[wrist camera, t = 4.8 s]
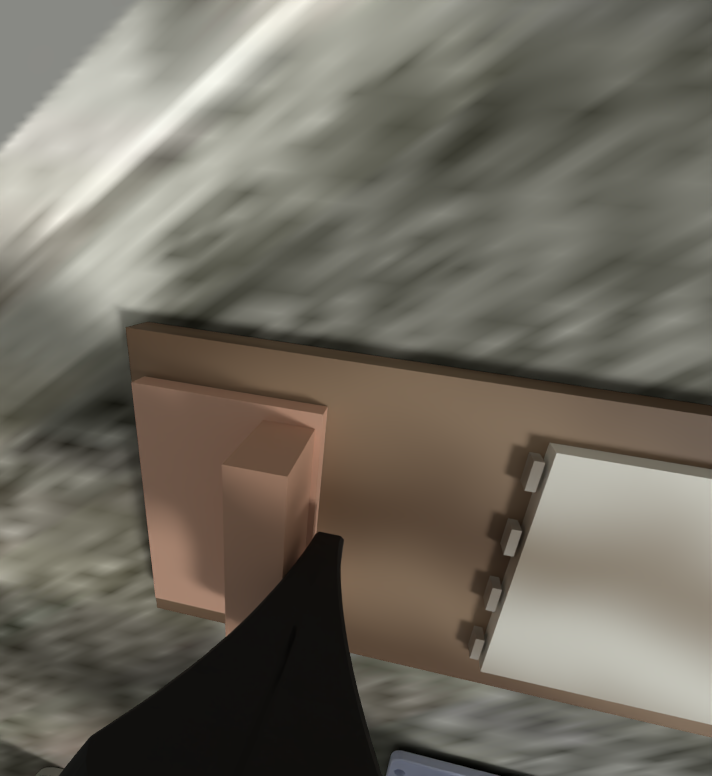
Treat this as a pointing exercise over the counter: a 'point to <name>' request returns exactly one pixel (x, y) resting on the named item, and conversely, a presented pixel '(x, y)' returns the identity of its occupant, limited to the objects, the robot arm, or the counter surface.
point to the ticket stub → (226, 491)
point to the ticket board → (498, 520)
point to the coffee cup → (49, 771)
